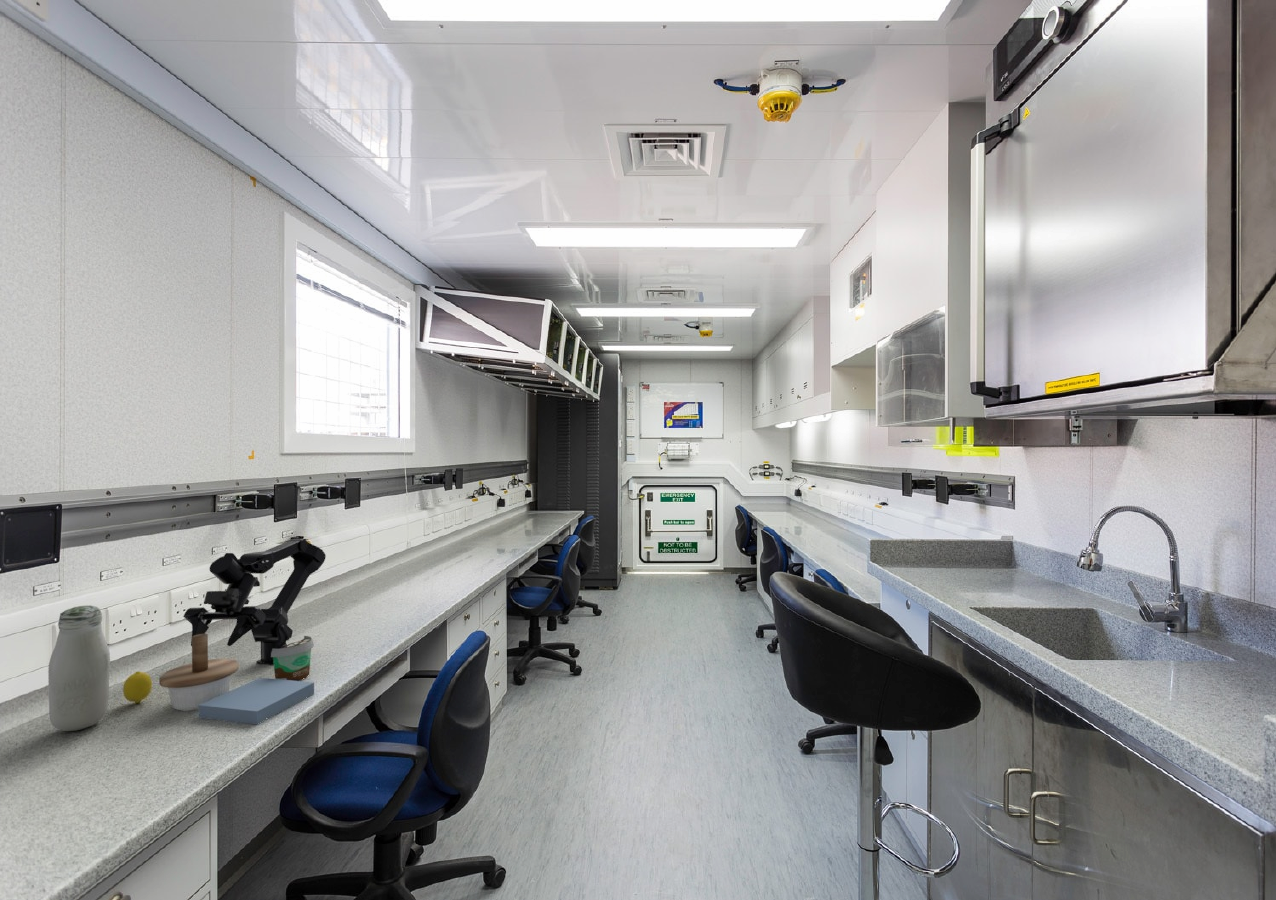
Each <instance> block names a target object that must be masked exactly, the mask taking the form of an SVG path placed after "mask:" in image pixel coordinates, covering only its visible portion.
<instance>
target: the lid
mask: <svg viewBox="0 0 1276 900" xmlns="http://www.w3.org/2000/svg"><path fill="white" fill-rule="evenodd" d="M191 638H192V646H191V663H186V664H183V665H181V666H180V665H179V666H177V667H174V668H172V669H169V670H167V671H166V672H163V674H161V675H160V676H159V678H158V683H159V685H160V686H161V687H163V688H167V689H168V688H182V687H191V686H197V685H202V684H206V683H210V682H214V681H217V680H220V679H223V678H225V677H228V676H230V675H231V676H232V675H233V674H235V673H236V672H237V671H238V670H239V661H237V660H236V659H231V658H216V659H209V654H208V653H209V648H208V647H209V646H208V645H209V643H208V634H207V633H205V634H198V635H194V636H192V635H191Z"/></svg>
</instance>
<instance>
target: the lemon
mask: <svg viewBox="0 0 1276 900" xmlns="http://www.w3.org/2000/svg"><path fill="white" fill-rule="evenodd" d="M152 689H153V681H152V677H151V676H150V675H149V674H148V673H146V672H141V671H139V670H138V671H136V672H134V673H132V674H131V675H130V676H128V677H127V679H125V681H124V683H123V688H122V692H123V696H124V698H125V699H126V700H127V701H129V702H134V703H135V704H139V703H141V701H142V700H144V699H145V698H147V697H148V696H149V695H150V693H151V691H152Z"/></svg>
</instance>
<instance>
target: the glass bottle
mask: <svg viewBox="0 0 1276 900" xmlns="http://www.w3.org/2000/svg"><path fill="white" fill-rule="evenodd" d="M102 621H103V613H102V611H101V609H100V608H99V607H98V606H95V605H79V606H74V607H71V608H68V609H66V610H64V611H62V612H60V614H59V618H58V623H57V624H58V625H57V626H58V630H59V631H58V633H57V637H56V642H55V646H54V648H53V650H52V652H51V655H50V658H49V663H48V671H47V673H48V680H47V681H48V710H49V713H48V714H49V719H50V720H49V721H50V723H51V726H53V727H54V728H55V729H57V730H59V731H64V732H74V731H79V730H83V729H87V728H89V727H91V726H94V725H96V724H97V723H99V722H100V721H102V719H103V718H104V716H105V715H106V713H107V711H108V709H109V701H110V670H111V669H110V666H111V656H110V648H109V646H108V643H107V640H106V636H105V635H104V633H103V627H102V626H103V625H102Z"/></svg>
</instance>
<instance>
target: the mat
mask: <svg viewBox="0 0 1276 900" xmlns="http://www.w3.org/2000/svg"><path fill="white" fill-rule="evenodd" d="M309 695H311V696H313V695H315V682H313V681H303V680H300V681H293V680H282V679H275V678H270V677H268V678H267V677H258V678H256V679H254V680H251V681H249V682H247V683H245V684H242V685H240V686H238V687H236V688H233V689H232V690H229V692H227V693H225V694H222V695H220V696H218V697H216V698H213V699H211V700H209V701H207V702H204V703H202V704H200V705H199V709H198V718H199V719H206V718H208V720H215V719H218V720H217V721H223V720H225V721H224V722H232V721H233V723H234V721H235V723H241V722H243V723H242V724H250V723H253V725H259V724H260V722H261V723H262V721H263V720H265V719H266V718H268V719H270V718H272V717H274V716H275V715H274V714H276V713H278V714H279V712H280V713H281V712H283V711H285V710H287V709H289V708H290V707H292V705H293V706H295V705H296V704H298V703H300V702H302V701H303V699H304V700H306V699H307V698H306V697H308V696H309ZM309 697H310V696H309ZM309 697H308V698H309ZM305 698H306V699H305ZM299 701H300V702H299ZM297 702H298V703H297ZM288 707H289V708H288ZM286 708H287V709H286ZM273 715H274V716H273ZM276 715H277V714H276ZM271 716H272V717H271ZM269 717H270V718H269ZM266 720H267V719H266ZM266 720H265V721H266ZM263 722H264V721H263ZM258 723H259V724H258Z"/></svg>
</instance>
